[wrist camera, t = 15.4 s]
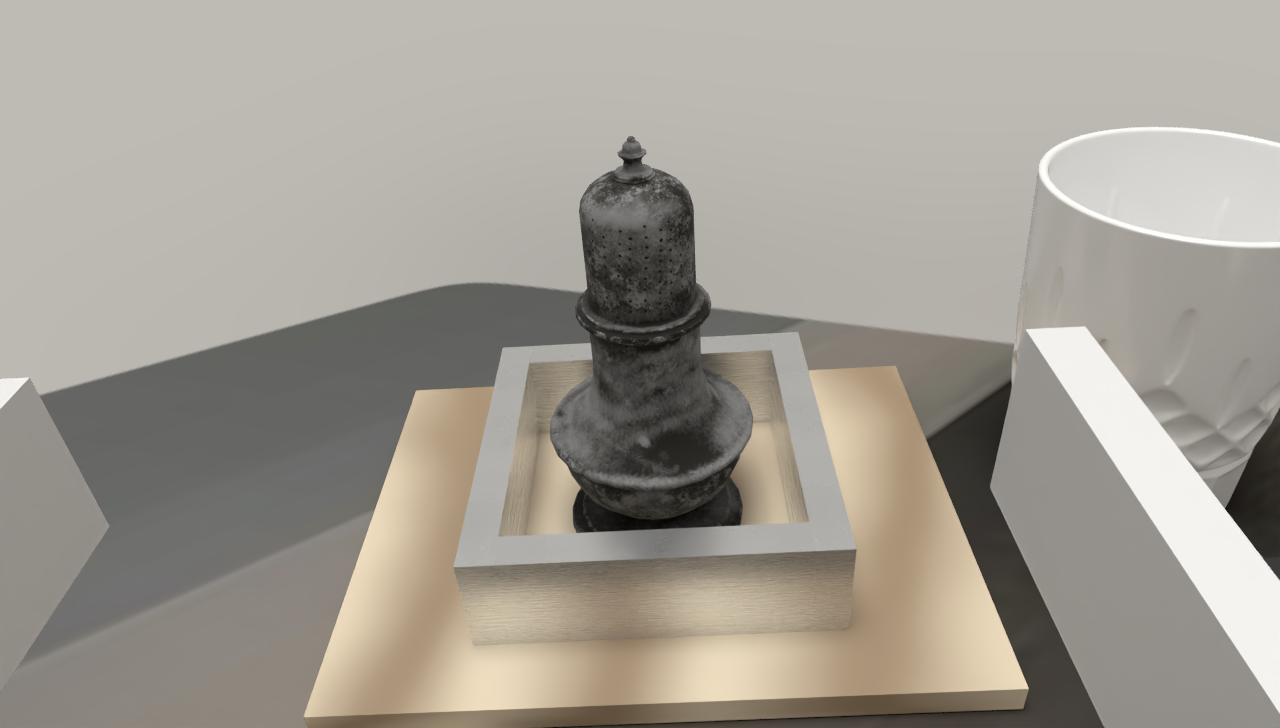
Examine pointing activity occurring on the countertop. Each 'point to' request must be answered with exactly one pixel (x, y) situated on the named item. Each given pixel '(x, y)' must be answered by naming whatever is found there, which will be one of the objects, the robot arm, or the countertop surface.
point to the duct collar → (661, 558)
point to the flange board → (675, 666)
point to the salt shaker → (647, 368)
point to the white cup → (1168, 278)
